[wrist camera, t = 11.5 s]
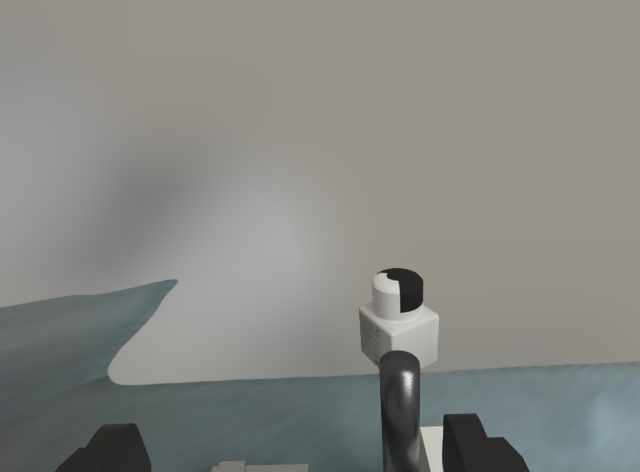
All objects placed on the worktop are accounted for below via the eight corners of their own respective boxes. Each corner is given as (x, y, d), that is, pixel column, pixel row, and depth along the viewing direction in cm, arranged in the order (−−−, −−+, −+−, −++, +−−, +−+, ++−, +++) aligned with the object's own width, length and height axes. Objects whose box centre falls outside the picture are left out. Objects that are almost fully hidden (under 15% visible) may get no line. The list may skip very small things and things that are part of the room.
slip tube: (288, 543, 32) (257, 387, 25) (292, 502, 35) (265, 353, 28) (476, 542, 30) (494, 377, 24) (463, 499, 34) (475, 343, 27)
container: (402, 333, 58) (402, 257, 53) (438, 362, 51) (441, 278, 46) (360, 351, 55) (355, 272, 50) (392, 384, 48) (390, 297, 43)
